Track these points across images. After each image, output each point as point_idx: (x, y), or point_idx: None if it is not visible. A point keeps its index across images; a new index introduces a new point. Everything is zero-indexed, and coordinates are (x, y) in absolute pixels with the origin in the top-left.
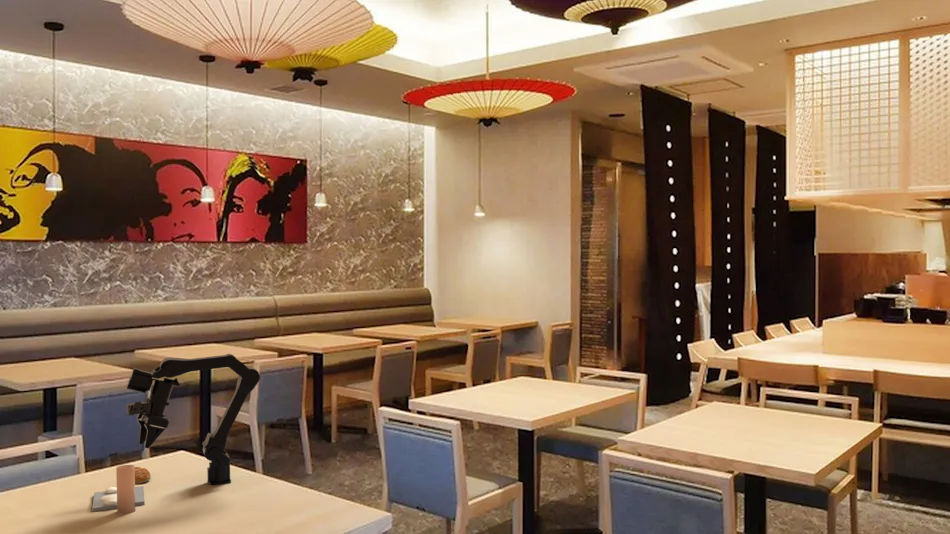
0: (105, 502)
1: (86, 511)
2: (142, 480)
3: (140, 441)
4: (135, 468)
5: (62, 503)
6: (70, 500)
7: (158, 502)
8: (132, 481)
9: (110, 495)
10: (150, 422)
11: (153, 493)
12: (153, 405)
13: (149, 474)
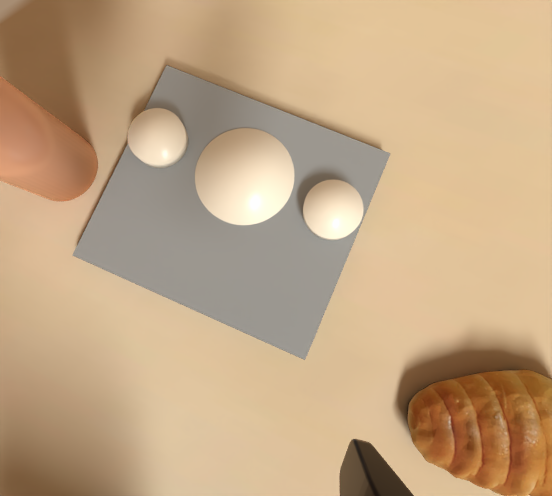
0: (154, 109)
1: (194, 60)
2: (413, 406)
3: (353, 466)
4: None
5: (379, 30)
6: (396, 66)
7: (60, 313)
8: None
9: (278, 183)
10: None
11: (204, 361)
12: None
13: (450, 470)
